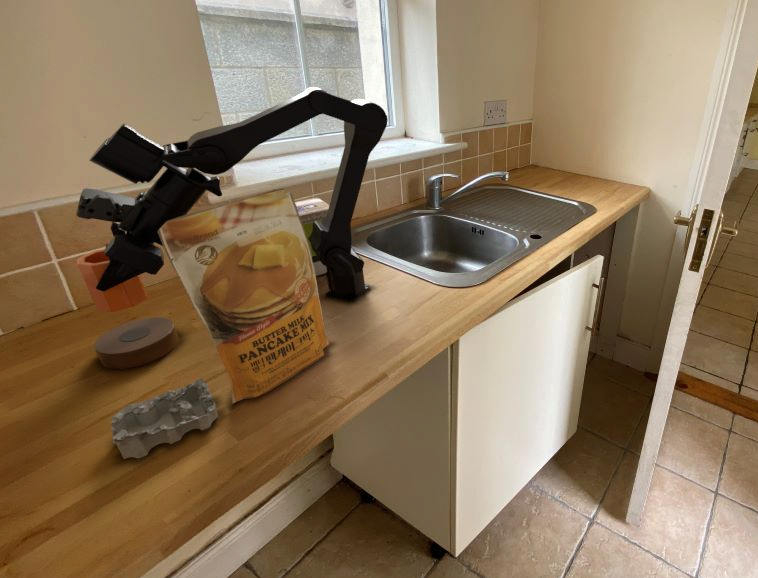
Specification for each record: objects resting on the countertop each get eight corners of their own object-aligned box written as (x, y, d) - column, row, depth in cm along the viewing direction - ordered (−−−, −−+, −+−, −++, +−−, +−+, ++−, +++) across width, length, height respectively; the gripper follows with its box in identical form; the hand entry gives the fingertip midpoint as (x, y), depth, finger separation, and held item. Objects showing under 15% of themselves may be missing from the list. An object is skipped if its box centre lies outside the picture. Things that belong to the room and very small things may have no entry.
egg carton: (120, 468, 54) (107, 444, 52) (117, 430, 59) (105, 407, 57) (223, 424, 61) (214, 402, 59) (212, 394, 66) (204, 372, 64)
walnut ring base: (193, 338, 77) (188, 323, 76) (132, 374, 69) (125, 359, 67) (149, 327, 80) (143, 312, 78) (84, 361, 71) (77, 345, 70)
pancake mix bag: (204, 398, 65) (140, 218, 53) (318, 333, 80) (288, 182, 68) (232, 417, 62) (170, 231, 50) (344, 345, 77) (317, 190, 65)
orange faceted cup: (156, 293, 73) (140, 249, 70) (122, 313, 68) (102, 266, 64) (124, 289, 74) (105, 246, 70) (87, 309, 68) (65, 262, 65)
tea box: (329, 253, 109) (319, 195, 102) (347, 268, 103) (337, 207, 96) (261, 272, 99) (245, 209, 93) (276, 289, 93) (260, 223, 86)
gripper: (112, 155, 71) (44, 233, 69) (100, 186, 57) (16, 283, 56) (188, 195, 78) (128, 266, 77) (193, 230, 65) (121, 317, 64)
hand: (101, 280), depth 68 cm, fingers closed on orange faceted cup, 6 cm apart
